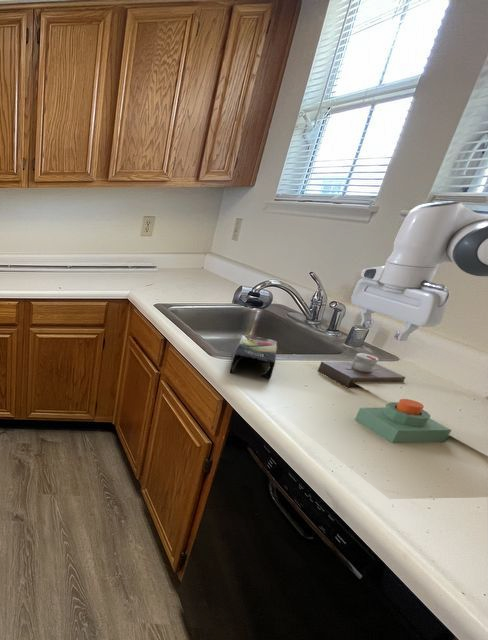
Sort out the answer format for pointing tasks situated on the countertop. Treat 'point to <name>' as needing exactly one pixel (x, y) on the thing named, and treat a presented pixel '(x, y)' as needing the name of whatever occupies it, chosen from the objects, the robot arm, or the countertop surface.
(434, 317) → the robot arm
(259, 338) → the dark boxy piece
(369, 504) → the countertop surface
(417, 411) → the orange button cap
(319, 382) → the countertop surface
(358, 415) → the green stepped block
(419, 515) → the countertop surface
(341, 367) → the panel
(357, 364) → the lock knob
